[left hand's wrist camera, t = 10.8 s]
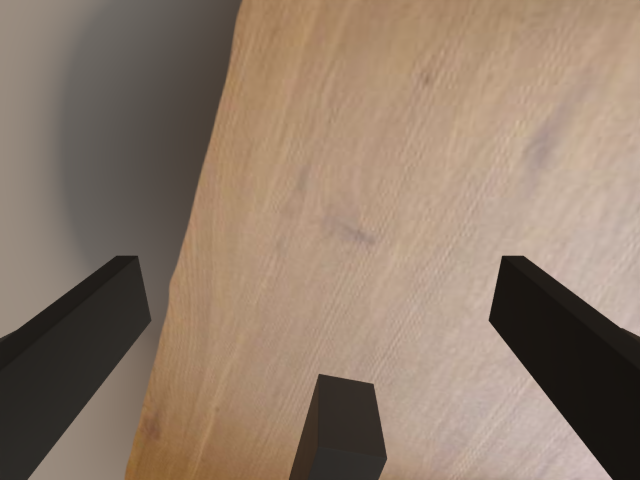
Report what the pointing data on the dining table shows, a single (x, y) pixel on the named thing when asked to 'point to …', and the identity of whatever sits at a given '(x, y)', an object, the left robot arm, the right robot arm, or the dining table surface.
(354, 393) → the box
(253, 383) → the dining table surface
